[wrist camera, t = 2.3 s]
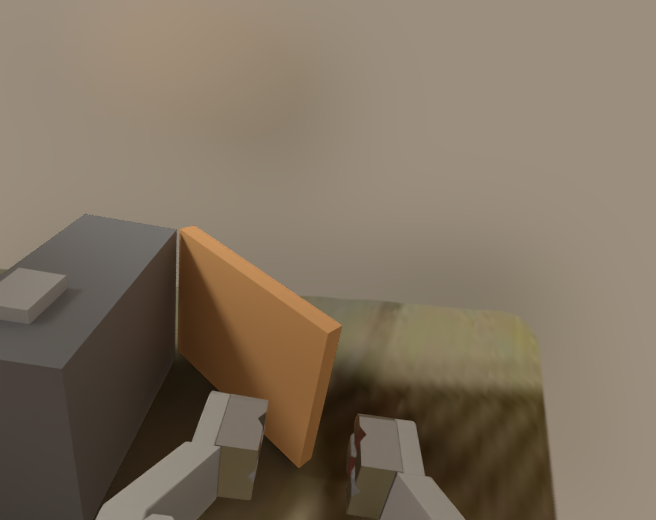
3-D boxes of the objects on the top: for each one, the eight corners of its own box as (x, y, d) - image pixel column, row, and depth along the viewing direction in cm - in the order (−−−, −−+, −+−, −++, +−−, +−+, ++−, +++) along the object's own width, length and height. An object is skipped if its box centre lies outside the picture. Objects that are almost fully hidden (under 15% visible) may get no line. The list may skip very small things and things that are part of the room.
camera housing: (-35, 518, 30) (-102, 329, 22) (102, 339, 47) (91, 198, 39) (85, 534, 30) (59, 354, 23) (178, 351, 47) (181, 214, 40)
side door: (298, 468, 36) (328, 333, 30) (177, 350, 46) (179, 228, 39) (320, 450, 38) (352, 319, 32) (200, 340, 48) (205, 222, 41)
